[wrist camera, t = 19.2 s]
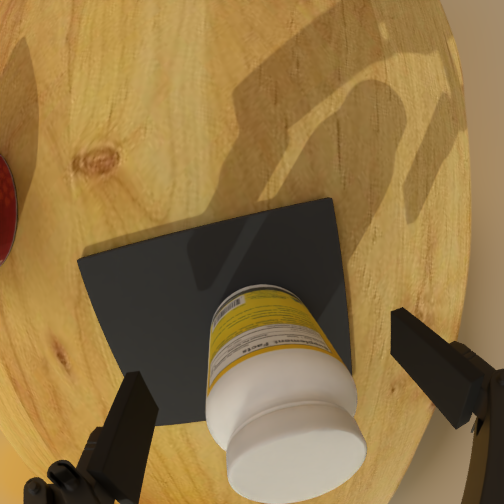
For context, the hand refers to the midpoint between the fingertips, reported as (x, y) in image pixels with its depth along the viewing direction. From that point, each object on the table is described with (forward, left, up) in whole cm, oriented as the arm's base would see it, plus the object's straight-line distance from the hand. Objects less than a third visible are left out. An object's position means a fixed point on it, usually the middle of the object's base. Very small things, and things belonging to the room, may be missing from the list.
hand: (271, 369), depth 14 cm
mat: (+2, 0, -5) cm, 6 cm away
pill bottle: (0, 0, -5) cm, 5 cm away
